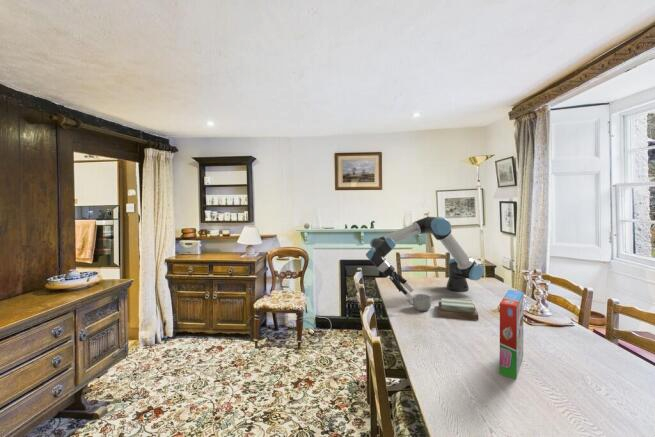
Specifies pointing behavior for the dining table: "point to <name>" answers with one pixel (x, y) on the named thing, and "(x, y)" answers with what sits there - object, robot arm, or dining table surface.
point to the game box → (511, 333)
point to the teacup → (421, 302)
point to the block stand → (457, 309)
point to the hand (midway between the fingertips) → (411, 294)
